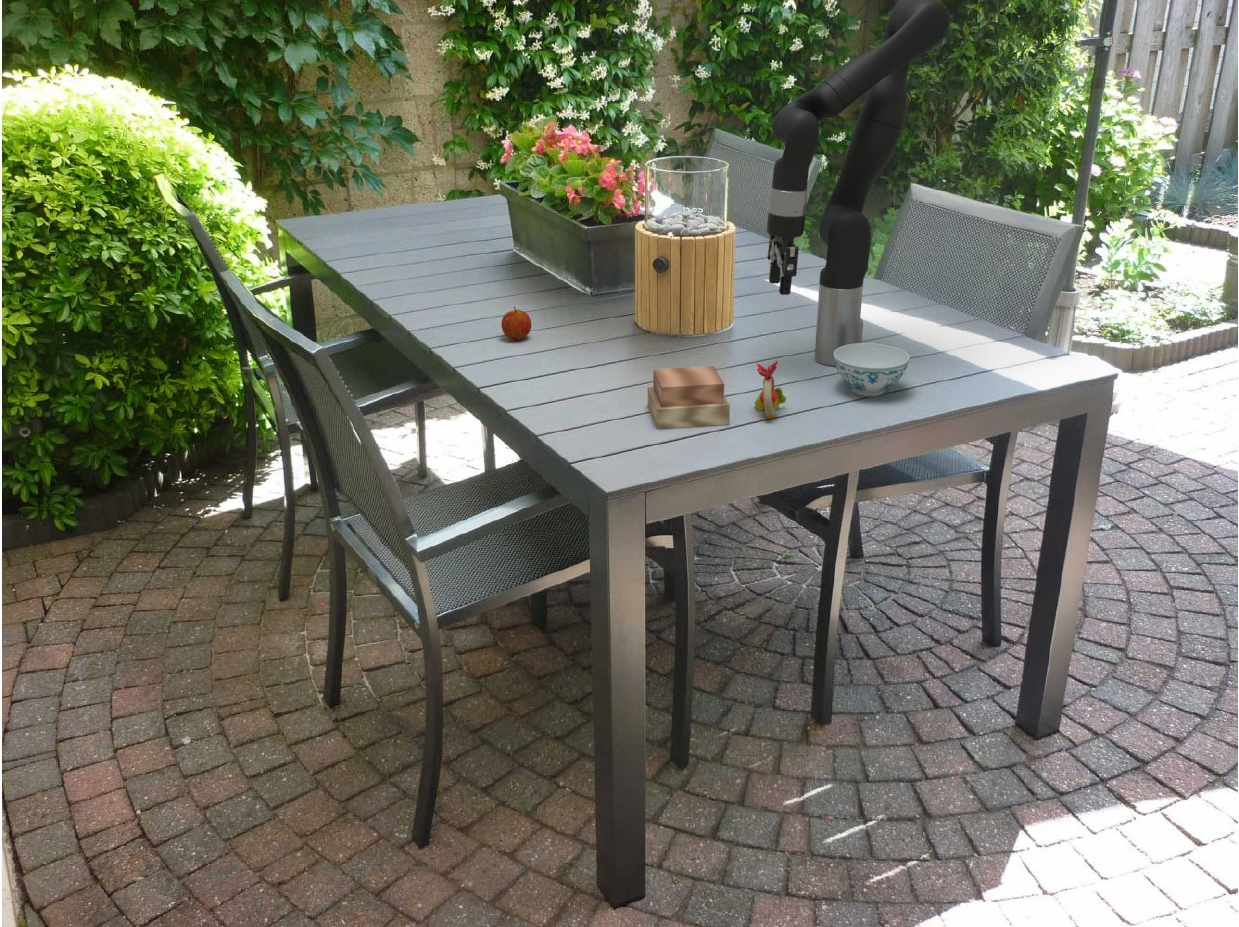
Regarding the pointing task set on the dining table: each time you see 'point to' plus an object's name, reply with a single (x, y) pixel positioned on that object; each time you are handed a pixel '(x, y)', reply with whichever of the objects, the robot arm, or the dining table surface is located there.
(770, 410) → the bird rattle
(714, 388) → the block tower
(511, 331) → the fruit
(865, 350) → the chinaware
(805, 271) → the dining table surface
